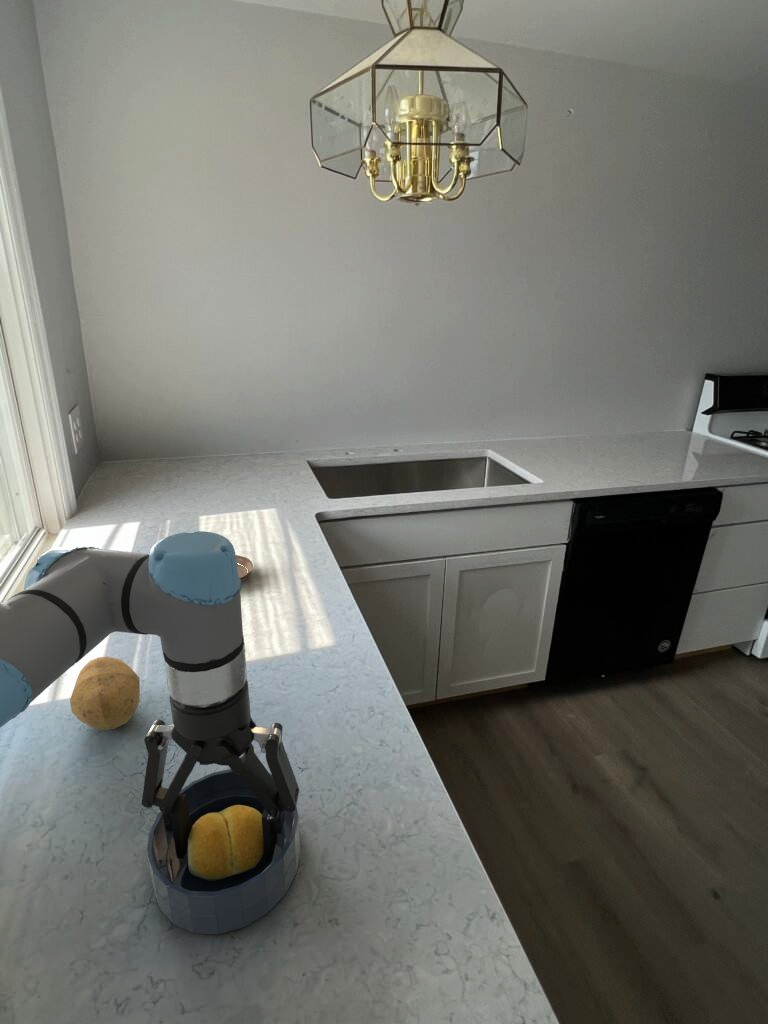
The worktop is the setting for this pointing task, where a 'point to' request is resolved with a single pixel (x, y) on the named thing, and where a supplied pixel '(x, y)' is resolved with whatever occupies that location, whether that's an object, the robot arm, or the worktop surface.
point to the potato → (105, 693)
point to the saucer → (242, 570)
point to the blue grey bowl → (227, 898)
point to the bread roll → (225, 843)
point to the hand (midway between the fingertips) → (227, 848)
